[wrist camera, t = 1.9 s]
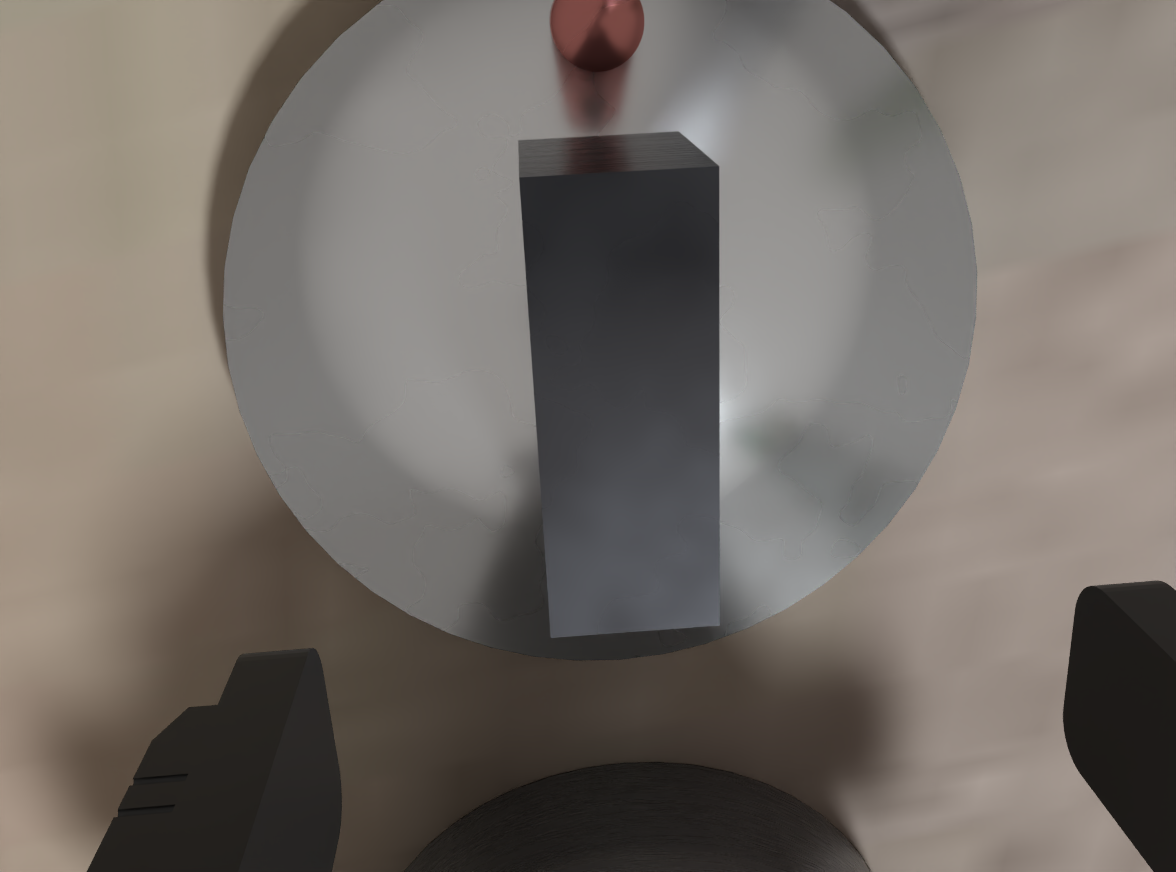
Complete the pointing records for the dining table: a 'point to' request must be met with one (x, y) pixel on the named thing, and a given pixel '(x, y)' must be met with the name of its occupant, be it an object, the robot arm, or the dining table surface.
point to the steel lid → (599, 311)
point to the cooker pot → (642, 827)
